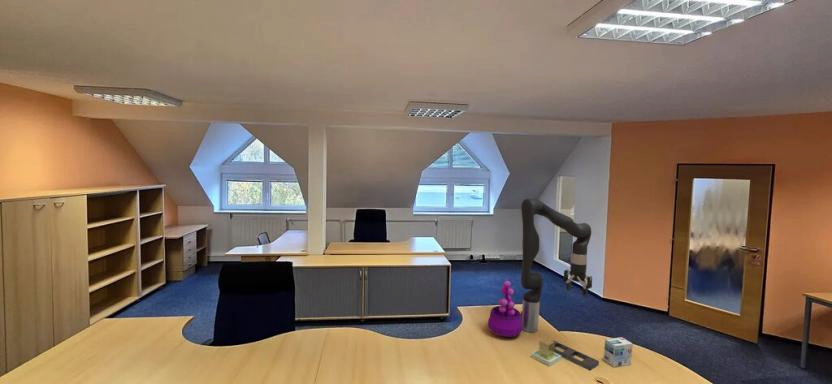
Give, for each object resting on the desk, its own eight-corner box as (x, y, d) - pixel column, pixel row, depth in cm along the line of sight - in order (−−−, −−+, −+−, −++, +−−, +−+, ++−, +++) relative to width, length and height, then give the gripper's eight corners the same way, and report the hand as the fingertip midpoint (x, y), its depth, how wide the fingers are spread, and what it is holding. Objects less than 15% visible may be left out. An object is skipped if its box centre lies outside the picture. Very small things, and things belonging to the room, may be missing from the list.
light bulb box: (613, 367, 175) (615, 345, 174) (602, 360, 181) (604, 339, 180) (631, 364, 178) (633, 343, 177) (620, 357, 184) (622, 336, 183)
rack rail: (544, 348, 191) (545, 344, 191) (553, 344, 196) (553, 340, 196) (590, 370, 172) (590, 366, 172) (598, 365, 177) (599, 361, 177)
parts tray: (531, 356, 182) (531, 352, 182) (543, 350, 188) (543, 347, 188) (549, 366, 174) (549, 362, 174) (561, 359, 180) (561, 355, 180)
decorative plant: (481, 327, 213) (484, 276, 210) (509, 323, 218) (512, 274, 215) (498, 343, 195) (501, 288, 192) (528, 339, 200) (531, 285, 198)
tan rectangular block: (538, 356, 182) (539, 340, 181) (544, 353, 185) (545, 338, 184) (547, 361, 178) (548, 345, 177) (553, 357, 181) (554, 342, 180)
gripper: (561, 259, 191) (559, 290, 193) (588, 266, 180) (585, 298, 181) (569, 257, 196) (567, 287, 197) (596, 264, 184) (593, 295, 186)
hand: (576, 292), depth 189 cm, fingers open, 8 cm apart
